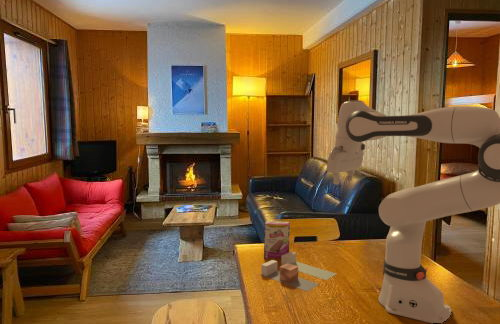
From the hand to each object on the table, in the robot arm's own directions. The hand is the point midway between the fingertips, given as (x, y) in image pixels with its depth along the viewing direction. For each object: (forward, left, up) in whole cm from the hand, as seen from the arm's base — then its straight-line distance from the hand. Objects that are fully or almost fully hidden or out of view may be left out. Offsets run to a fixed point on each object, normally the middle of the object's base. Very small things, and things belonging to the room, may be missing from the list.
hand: (342, 182), depth 143 cm
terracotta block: (+15, +12, -38) cm, 42 cm away
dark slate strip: (+15, +12, -39) cm, 43 cm away
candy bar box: (+34, -5, -39) cm, 52 cm away
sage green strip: (+15, -1, -39) cm, 41 cm away
